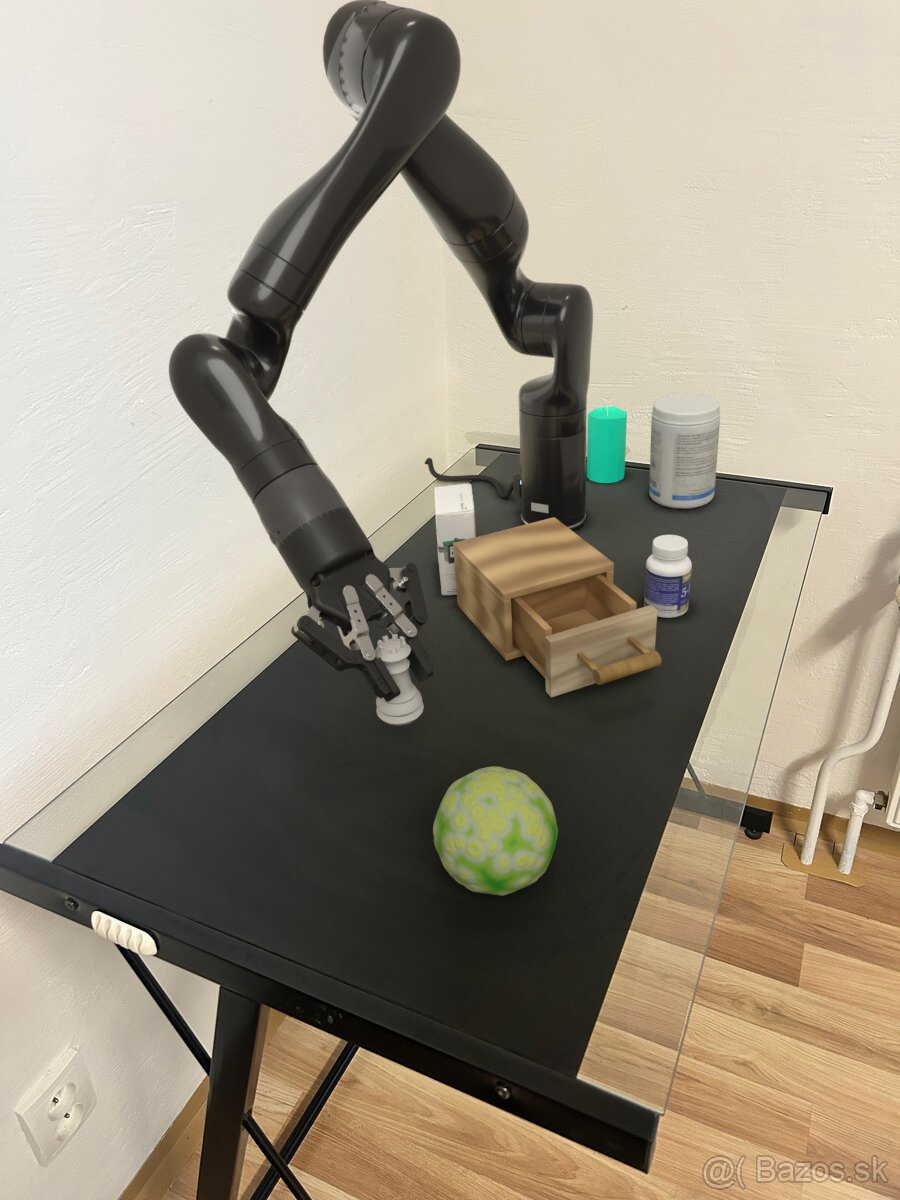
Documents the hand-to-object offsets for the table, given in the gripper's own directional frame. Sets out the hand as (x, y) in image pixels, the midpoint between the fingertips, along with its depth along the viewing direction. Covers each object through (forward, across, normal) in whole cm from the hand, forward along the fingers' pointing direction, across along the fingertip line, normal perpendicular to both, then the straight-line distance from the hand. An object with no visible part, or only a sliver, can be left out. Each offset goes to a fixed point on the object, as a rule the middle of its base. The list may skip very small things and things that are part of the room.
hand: (410, 687), depth 79 cm
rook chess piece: (+2, 0, +4) cm, 5 cm away
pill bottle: (+8, +40, +8) cm, 41 cm away
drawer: (+7, +23, +6) cm, 25 cm away
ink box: (-10, +28, +25) cm, 39 cm away
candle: (-14, +66, +30) cm, 74 cm away
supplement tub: (-4, +67, +20) cm, 70 cm away
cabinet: (0, +28, +15) cm, 31 cm away
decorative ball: (+17, -4, -3) cm, 18 cm away
